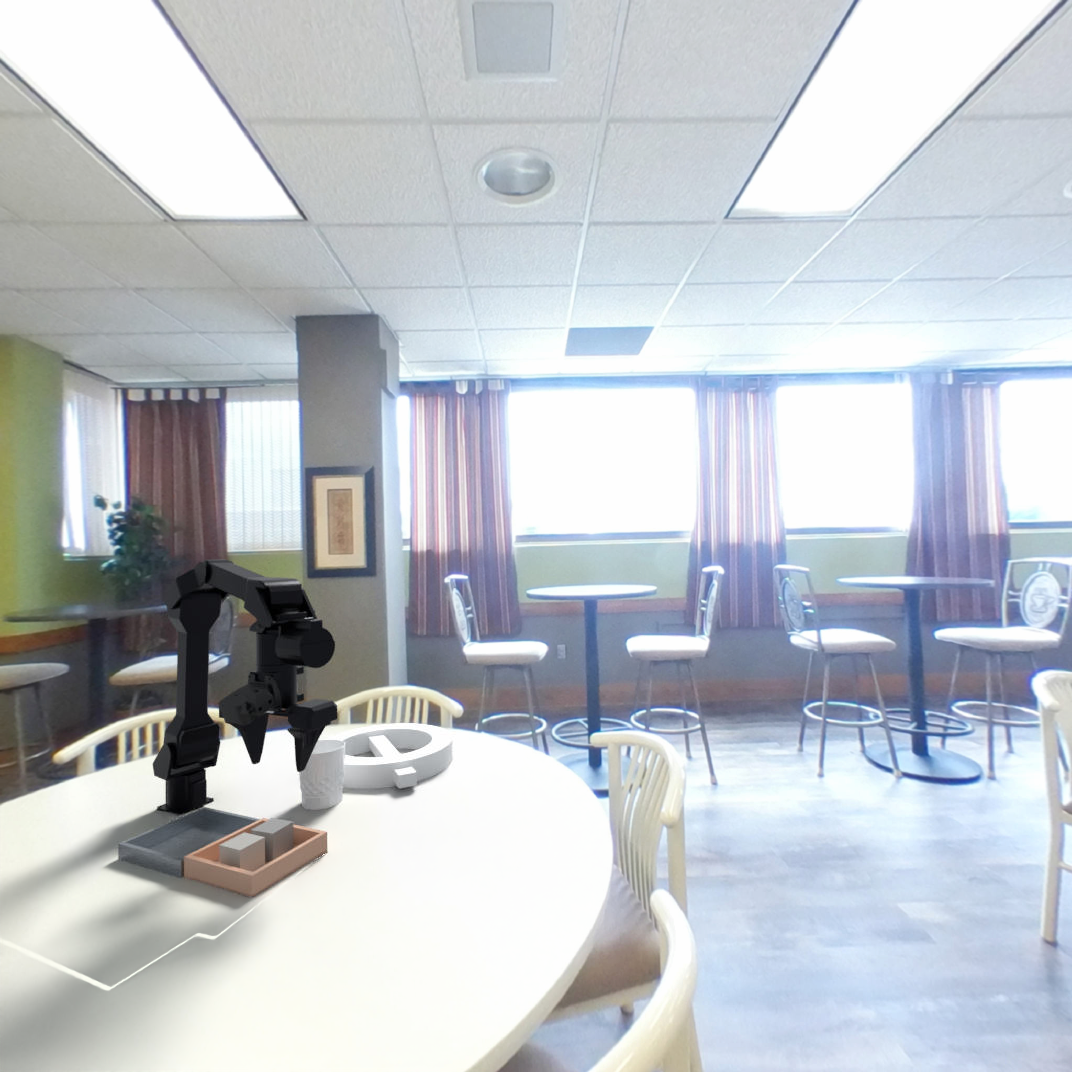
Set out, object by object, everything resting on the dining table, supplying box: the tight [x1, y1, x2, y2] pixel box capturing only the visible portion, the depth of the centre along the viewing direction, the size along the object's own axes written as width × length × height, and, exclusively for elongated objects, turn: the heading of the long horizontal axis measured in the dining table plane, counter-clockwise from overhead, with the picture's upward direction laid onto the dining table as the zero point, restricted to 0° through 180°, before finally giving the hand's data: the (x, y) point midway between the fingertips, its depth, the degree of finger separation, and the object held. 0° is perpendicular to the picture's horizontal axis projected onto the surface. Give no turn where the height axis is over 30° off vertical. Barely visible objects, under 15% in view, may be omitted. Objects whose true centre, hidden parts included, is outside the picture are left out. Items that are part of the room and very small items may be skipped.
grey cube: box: [251, 817, 294, 862], centre depth 87 cm, size 4×4×4 cm
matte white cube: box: [219, 832, 265, 872], centre depth 82 cm, size 4×4×4 cm
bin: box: [117, 806, 261, 879], centre depth 90 cm, size 14×14×2 cm
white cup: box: [298, 739, 345, 811], centre depth 106 cm, size 8×8×10 cm
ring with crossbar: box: [324, 722, 454, 789], centre depth 126 cm, size 28×28×5 cm
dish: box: [183, 817, 328, 899], centre depth 84 cm, size 13×13×3 cm
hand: (277, 767), depth 89 cm, fingers open, 9 cm apart
